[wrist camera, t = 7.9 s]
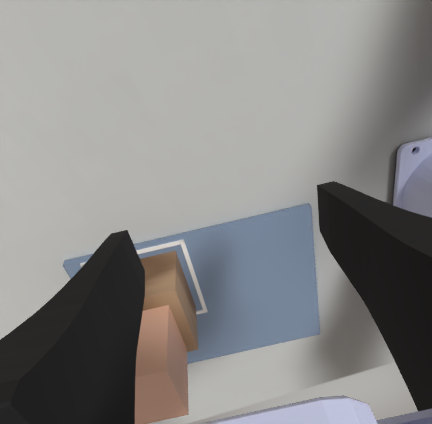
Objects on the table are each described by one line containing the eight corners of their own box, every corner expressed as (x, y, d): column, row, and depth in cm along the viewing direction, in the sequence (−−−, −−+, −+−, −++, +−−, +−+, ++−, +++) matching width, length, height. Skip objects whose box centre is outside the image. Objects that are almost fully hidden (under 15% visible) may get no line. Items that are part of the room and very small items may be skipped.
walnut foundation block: (175, 250, 24) (175, 290, 20) (195, 306, 27) (198, 349, 23) (95, 269, 24) (81, 311, 20) (124, 322, 27) (117, 367, 24)
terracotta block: (168, 304, 21) (166, 370, 17) (186, 348, 23) (188, 414, 19) (100, 320, 21) (82, 389, 17) (125, 361, 23) (114, 430, 20)
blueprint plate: (308, 203, 23) (311, 207, 23) (318, 329, 31) (320, 335, 30) (64, 260, 24) (62, 266, 23) (131, 371, 31) (130, 377, 31)
